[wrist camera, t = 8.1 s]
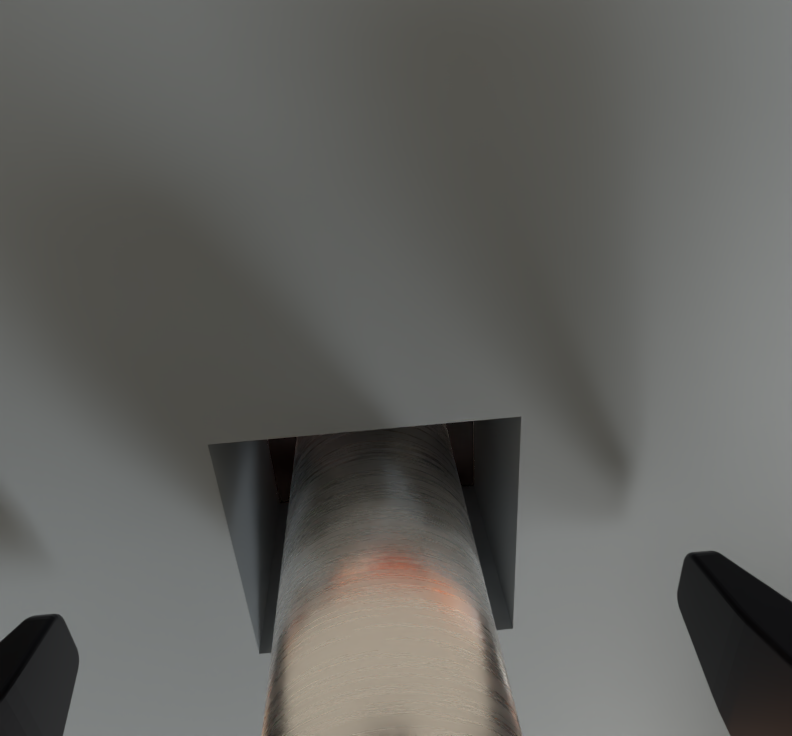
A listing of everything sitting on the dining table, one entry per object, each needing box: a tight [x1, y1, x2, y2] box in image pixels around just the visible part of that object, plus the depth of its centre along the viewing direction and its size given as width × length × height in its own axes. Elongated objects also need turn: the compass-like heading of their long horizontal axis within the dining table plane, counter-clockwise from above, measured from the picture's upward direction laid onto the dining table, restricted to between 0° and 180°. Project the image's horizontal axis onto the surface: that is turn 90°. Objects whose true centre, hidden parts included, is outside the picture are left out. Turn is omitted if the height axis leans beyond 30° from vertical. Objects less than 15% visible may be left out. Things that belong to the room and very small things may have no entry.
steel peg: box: [262, 423, 522, 736], centre depth 10 cm, size 3×3×9 cm
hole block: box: [0, 0, 792, 736], centre depth 12 cm, size 22×16×4 cm
